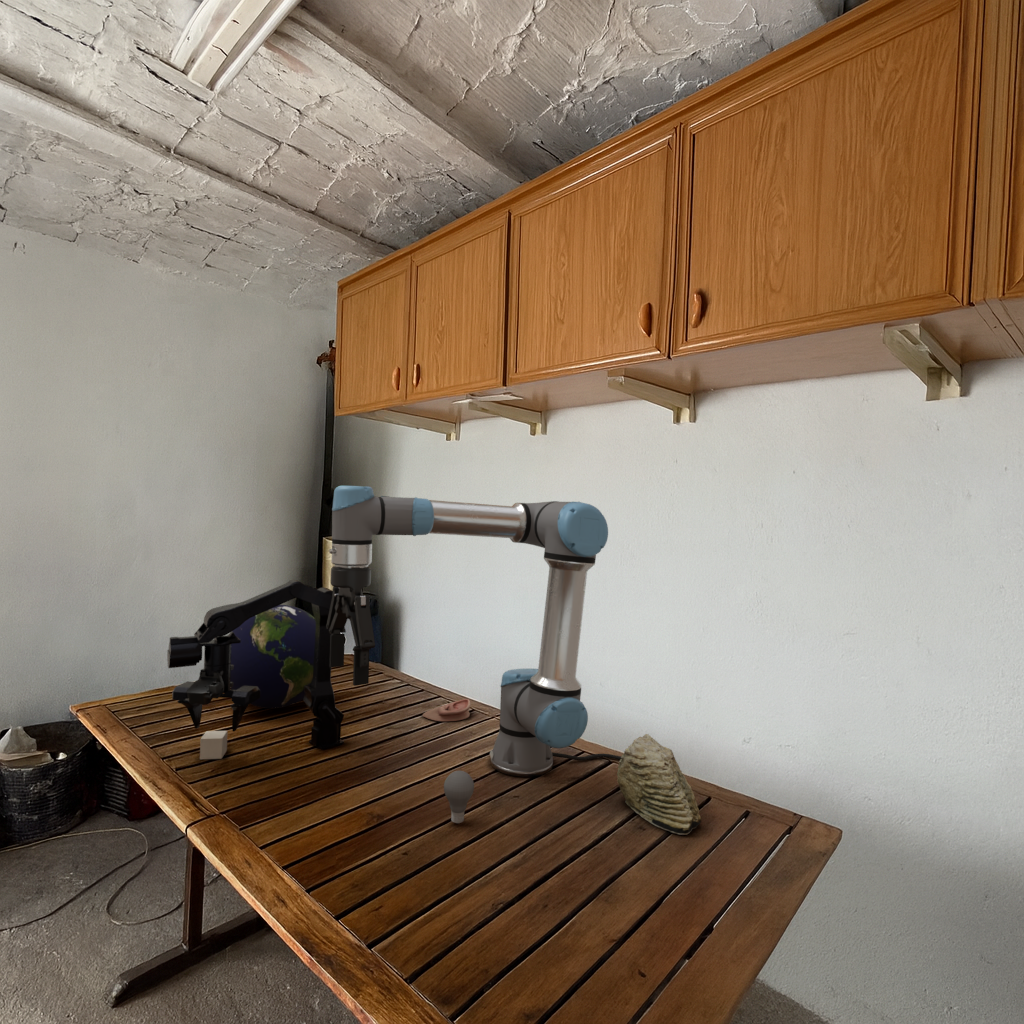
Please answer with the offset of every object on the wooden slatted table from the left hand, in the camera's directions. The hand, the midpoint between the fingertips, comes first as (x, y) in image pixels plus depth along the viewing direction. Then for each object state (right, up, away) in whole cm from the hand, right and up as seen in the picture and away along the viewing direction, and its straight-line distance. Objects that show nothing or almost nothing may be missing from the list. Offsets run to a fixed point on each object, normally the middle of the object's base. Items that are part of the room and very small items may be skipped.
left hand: (215, 729), depth 148 cm
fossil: (+99, -13, -16) cm, 101 cm away
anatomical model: (+50, -9, +39) cm, 64 cm away
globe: (-1, -7, +40) cm, 41 cm away
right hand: (+37, +19, -25) cm, 49 cm away
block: (-3, -8, +5) cm, 9 cm away
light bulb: (+58, -11, -22) cm, 63 cm away
